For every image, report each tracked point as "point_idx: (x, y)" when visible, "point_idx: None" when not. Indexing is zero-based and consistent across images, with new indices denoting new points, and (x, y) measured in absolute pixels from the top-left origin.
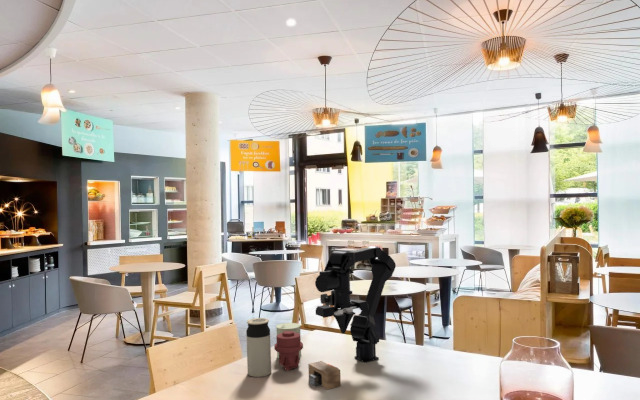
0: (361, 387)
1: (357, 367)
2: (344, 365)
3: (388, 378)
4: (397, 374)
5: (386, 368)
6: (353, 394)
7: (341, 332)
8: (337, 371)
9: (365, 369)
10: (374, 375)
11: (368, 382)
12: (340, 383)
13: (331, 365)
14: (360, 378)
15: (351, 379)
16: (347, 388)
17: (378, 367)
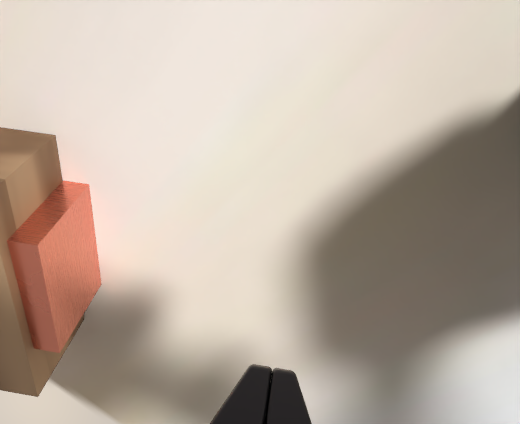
0: (165, 387)
1: (394, 191)
2: (358, 78)
3: (362, 412)
4: (451, 415)
5: (512, 335)
6: (85, 402)
7: (248, 371)
8: (18, 387)
9: (398, 257)
10: (345, 349)
11: (238, 378)
12: (76, 329)
13: (41, 290)
14: (245, 324)
15: (192, 301)
16: (98, 354)
17: (498, 292)
